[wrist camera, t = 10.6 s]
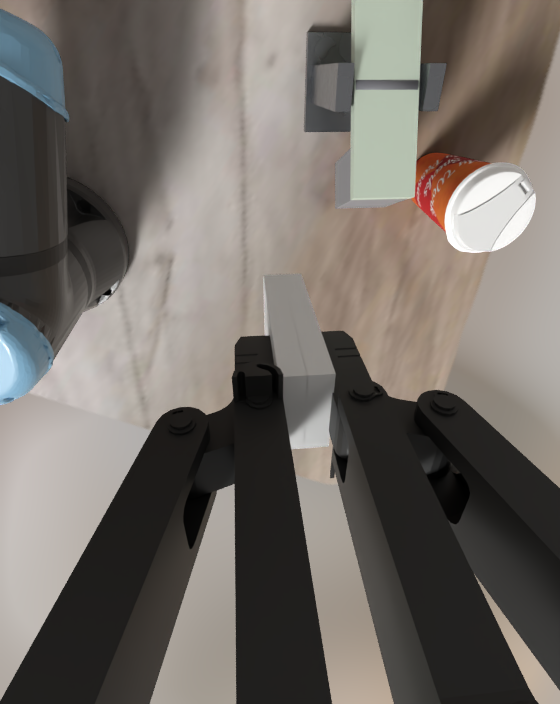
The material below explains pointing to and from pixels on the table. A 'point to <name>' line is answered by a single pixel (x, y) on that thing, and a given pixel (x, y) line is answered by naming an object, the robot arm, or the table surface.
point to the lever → (382, 105)
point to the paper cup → (474, 200)
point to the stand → (348, 83)
